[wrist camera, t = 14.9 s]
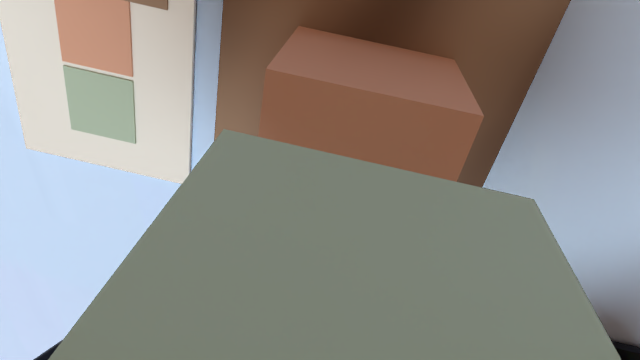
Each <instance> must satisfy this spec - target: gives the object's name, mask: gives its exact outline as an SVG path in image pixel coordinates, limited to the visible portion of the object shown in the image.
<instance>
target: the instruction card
mask: <svg viewBox="0 0 640 360" xmlns="http://www.w3.org/2000/svg"><path fill="white" fill-rule="evenodd" d="M195 21H196V0H0V22H1V27H2V32H3V37H4V42H5V47H6V52H7V56H8V61H9V66H10V71H11V76H12V81H13V86H14V91H15V96H16V101H17V106H18V111H19V116H20V121H21V125H22V130H23V135H24V140H25V145H26V148H27V149H31V150H36V151H40V152H44V153H49V154H53V155H57V156H62V157H66V158H71V159H75V160H79V161H84V162H88V163H92V164H97V165H101V166H105V167H110V168H114V169H119V170H123V171H127V172H132V173H136V174H140V175H145V176H149V177H154V178H158V179H162V180H167V181H171V182H175V183H180V184H182V183H183V182H184V181H185V179H186V178H187V177H188V175H189V174H190V172H191V142H192V112H193V81H194V51H195Z"/></svg>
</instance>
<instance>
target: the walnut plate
mask: <svg viewBox="0 0 640 360" xmlns="http://www.w3.org/2000/svg"><path fill="white" fill-rule="evenodd" d="M570 1H571V0H223V14H222V29H221V45H220V60H219V76H218V91H217V106H216V122H215V137H214V141H215V140H216V139H217V137H218V136H219V135H220V133H221V132H222V131H223V129H226V130H231V131H235V132H239V133H244V134H248V135H253V136H257V137H258V133H259V124H260V115H261V107H262V98H263V89H264V80H265V71H266V68H267V66H268V65H269V64H270V63H271V61H272V60H273V59H274V57H275V56H276V55H277V53H278V52H279V51H280V50H281V48H282V47H283V46H284V44H285V43H286V42H287V40H288V39H289V38H290V37H291V35H292V34H293V33H294V31H295V30H296V29H297V27H298V26H302V27H306V28H311V29H315V30H320V31H325V32H329V33H334V34H339V35H343V36H348V37H352V38H357V39H362V40H366V41H371V42H376V43H380V44H385V45H389V46H394V47H399V48H403V49H408V50H413V51H417V52H422V53H426V54H431V55H436V56H440V57H445V58H450V59H454V60H455V61H456V63H457V65H458V67H459V69H460V71H461V73H462V75H463V77H464V79H465V80H466V82H467V84H468V86H469V88H470V90H471V92H472V94H473V96H474V98H475V100H476V101H477V103H478V105H479V107H480V109H481V111H482V113H483V115H484V118H483V120H482V123H481V125H480V127H479V130H478V132H477V135H476V137H475V139H474V142H473V144H472V146H471V149H470V151H469V154H468V156H467V158H466V161H465V163H464V166H463V168H462V170H461V173H460V175H459V178H458V180H457V182H460V183H464V184H468V185H473V186H477V187H482V186H483V184H484V182H485V180H486V178H487V176H488V174H489V172H490V169H491V167H492V165H493V163H494V161H495V159H496V157H497V155H498V153H499V151H500V148H501V146H502V144H503V142H504V140H505V138H506V136H507V134H508V132H509V129H510V127H511V125H512V123H513V121H514V119H515V117H516V115H517V113H518V110H519V108H520V106H521V104H522V102H523V100H524V98H525V96H526V94H527V91H528V89H529V87H530V85H531V83H532V81H533V79H534V77H535V75H536V73H537V70H538V68H539V66H540V64H541V62H542V60H543V58H544V56H545V54H546V51H547V49H548V47H549V45H550V43H551V41H552V39H553V37H554V35H555V32H556V30H557V28H558V26H559V24H560V22H561V20H562V18H563V16H564V13H565V11H566V9H567V7H568V5H569V3H570Z"/></svg>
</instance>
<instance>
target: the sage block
mask: <svg viewBox="0 0 640 360" xmlns="http://www.w3.org/2000/svg"><path fill="white" fill-rule="evenodd" d="M48 360H621V358H620V356H619V354H618V353H617V351H616V349H615V347H614V345H613V343H612V342H611V340H610V338H609V336H608V334H607V332H606V331H605V329H604V327H603V325H602V323H601V321H600V320H599V318H598V316H597V314H596V312H595V310H594V309H593V307H592V305H591V303H590V301H589V299H588V298H587V296H586V294H585V292H584V290H583V288H582V287H581V285H580V283H579V281H578V279H577V277H576V276H575V274H574V272H573V270H572V268H571V267H570V265H569V263H568V261H567V259H566V257H565V256H564V254H563V252H562V250H561V248H560V246H559V245H558V243H557V241H556V239H555V237H554V235H553V234H552V232H551V230H550V228H549V226H548V224H547V223H546V221H545V219H544V217H543V215H542V213H541V212H540V210H539V208H538V206H537V204H536V202H535V201H534V199H530V198H526V197H521V196H517V195H512V194H508V193H504V192H499V191H495V190H490V189H486V188H482V187H477V186H473V185H468V184H464V183H460V182H455V181H451V180H446V179H442V178H438V177H433V176H429V175H424V174H420V173H416V172H411V171H407V170H402V169H398V168H393V167H389V166H385V165H380V164H376V163H371V162H367V161H363V160H358V159H354V158H349V157H345V156H341V155H336V154H332V153H327V152H323V151H319V150H314V149H310V148H305V147H301V146H297V145H292V144H288V143H283V142H279V141H275V140H270V139H266V138H261V137H257V136H253V135H248V134H244V133H239V132H235V131H231V130H226V129H223V131H222V132H221V133H220V135H219V136H218V137H217V139H216V140H215V141H214V142H213V144H212V145H211V146H210V148H209V149H208V150H207V152H206V153H205V154H204V156H203V157H202V158H201V160H200V161H199V162H198V163H197V165H196V166H195V167H194V169H193V170H192V171H191V173H190V174H189V175H188V177H187V178H186V179H185V181H184V182H183V183H182V184H181V186H180V187H179V188H178V190H177V191H176V192H175V194H174V195H173V196H172V198H171V199H170V200H169V202H168V203H167V204H166V205H165V207H164V208H163V209H162V211H161V212H160V213H159V215H158V216H157V217H156V219H155V220H154V221H153V223H152V224H151V225H150V226H149V228H148V229H147V230H146V232H145V233H144V234H143V236H142V237H141V238H140V240H139V241H138V242H137V244H136V245H135V246H134V247H133V249H132V250H131V251H130V253H129V254H128V255H127V257H126V258H125V259H124V261H123V262H122V263H121V265H120V266H119V267H118V268H117V270H116V271H115V272H114V274H113V275H112V276H111V278H110V279H109V280H108V282H107V283H106V284H105V286H104V287H103V288H102V289H101V291H100V292H99V293H98V295H97V296H96V297H95V299H94V300H93V301H92V303H91V304H90V305H89V307H88V308H87V309H86V310H85V312H84V313H83V314H82V316H81V317H80V318H79V320H78V321H77V322H76V324H75V325H74V326H73V328H72V329H71V330H70V331H69V333H68V334H67V335H66V337H65V338H64V339H63V341H62V342H61V343H60V345H59V346H58V347H57V349H56V350H55V351H54V352H53V354H52V355H51V356H50V358H49V359H48Z"/></svg>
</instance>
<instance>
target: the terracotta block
mask: <svg viewBox="0 0 640 360" xmlns="http://www.w3.org/2000/svg"><path fill="white" fill-rule="evenodd" d="M483 118H484V115H483V113H482V111H481V109H480V107H479V105H478V103H477V101H476V100H475V98H474V96H473V94H472V92H471V90H470V88H469V86H468V84H467V82H466V80H465V79H464V77H463V75H462V73H461V71H460V69H459V67H458V65H457V63H456V61H455V60H454V59H450V58H445V57H440V56H436V55H431V54H426V53H422V52H417V51H413V50H408V49H403V48H399V47H394V46H389V45H385V44H380V43H376V42H371V41H366V40H362V39H357V38H352V37H348V36H343V35H339V34H334V33H329V32H325V31H320V30H315V29H311V28H306V27H302V26H298V27H297V29H296V30H295V31H294V33H293V34H292V35H291V37H290V38H289V39H288V40H287V42H286V43H285V44H284V46H283V47H282V48H281V50H280V51H279V52H278V53H277V55H276V56H275V57H274V59H273V60H272V61H271V63H270V64H269V65H268V66H267V68H266V71H265V80H264V89H263V98H262V107H261V115H260V124H259V133H258V137H261V138H266V139H270V140H275V141H279V142H283V143H288V144H292V145H297V146H301V147H305V148H310V149H314V150H319V151H323V152H327V153H332V154H336V155H341V156H345V157H349V158H354V159H358V160H363V161H367V162H371V163H376V164H380V165H385V166H389V167H393V168H398V169H402V170H407V171H411V172H416V173H420V174H424V175H429V176H433V177H438V178H442V179H446V180H451V181H455V182H457V180H458V178H459V175H460V173H461V170H462V168H463V166H464V163H465V161H466V158H467V156H468V154H469V151H470V149H471V146H472V144H473V142H474V139H475V137H476V135H477V132H478V130H479V127H480V125H481V123H482V120H483Z"/></svg>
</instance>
